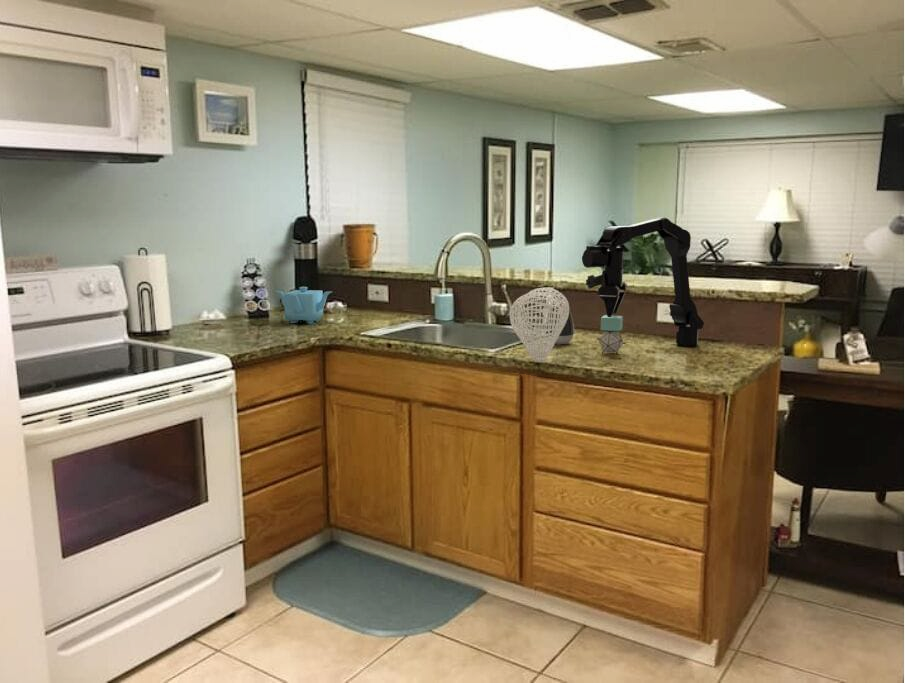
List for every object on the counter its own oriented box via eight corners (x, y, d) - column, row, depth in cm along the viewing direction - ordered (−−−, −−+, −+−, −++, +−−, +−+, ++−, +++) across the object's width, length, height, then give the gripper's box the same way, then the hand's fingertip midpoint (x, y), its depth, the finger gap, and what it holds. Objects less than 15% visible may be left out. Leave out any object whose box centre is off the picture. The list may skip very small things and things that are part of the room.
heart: (556, 373, 223) (558, 296, 219) (504, 370, 228) (504, 294, 224) (571, 355, 250) (572, 286, 246) (524, 352, 254) (524, 284, 250)
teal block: (622, 328, 253) (622, 316, 252) (619, 331, 247) (619, 318, 246) (603, 327, 255) (604, 315, 254) (600, 330, 249) (600, 317, 249)
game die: (604, 363, 254) (591, 337, 258) (628, 354, 254) (615, 327, 258) (606, 355, 246) (593, 327, 249) (631, 345, 246) (617, 318, 249)
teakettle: (314, 317, 336) (312, 283, 333) (335, 322, 321) (334, 287, 319) (273, 322, 325) (271, 286, 322) (293, 327, 310) (292, 290, 307)
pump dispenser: (577, 342, 273) (578, 299, 270) (569, 347, 264) (570, 302, 261) (549, 340, 277) (550, 297, 275) (540, 344, 268) (541, 301, 265)
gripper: (594, 263, 259) (592, 310, 262) (582, 268, 242) (580, 317, 244) (627, 264, 255) (626, 312, 258) (618, 269, 238) (616, 319, 240)
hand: (611, 315), depth 250 cm, fingers open, 9 cm apart
